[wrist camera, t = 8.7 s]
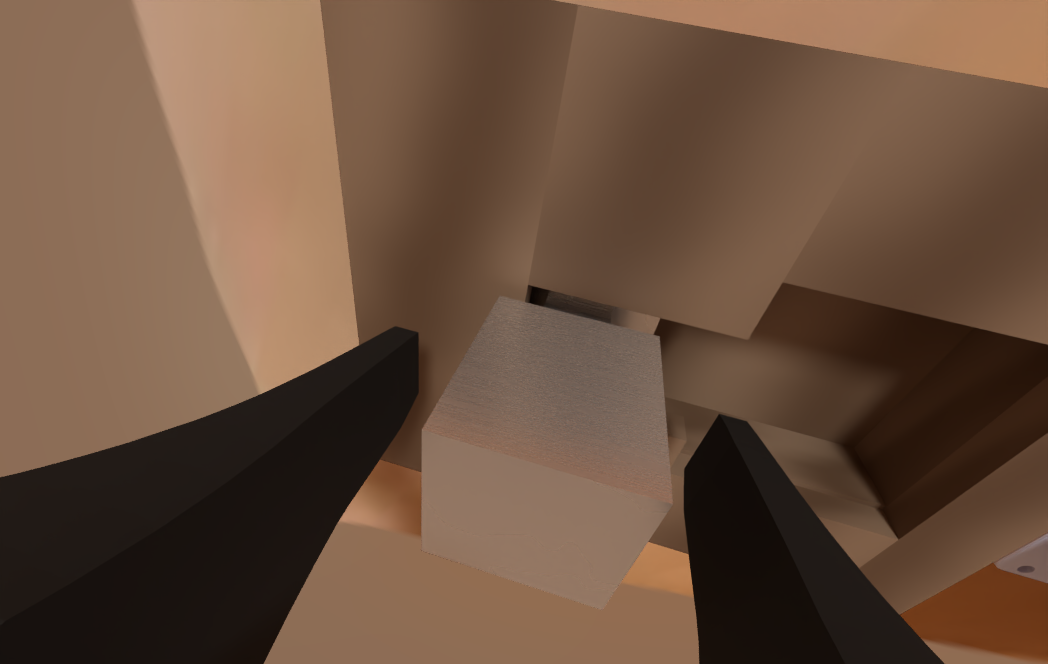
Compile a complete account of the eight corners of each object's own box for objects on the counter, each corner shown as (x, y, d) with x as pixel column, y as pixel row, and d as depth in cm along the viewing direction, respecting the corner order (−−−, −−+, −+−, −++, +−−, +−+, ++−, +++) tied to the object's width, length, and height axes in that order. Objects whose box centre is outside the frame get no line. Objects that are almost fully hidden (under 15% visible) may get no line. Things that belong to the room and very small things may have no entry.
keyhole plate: (1253, 141, 9) (1649, 195, 6) (843, 506, 18) (894, 617, 14) (419, -10, 11) (315, -43, 7) (419, 385, 20) (372, 456, 16)
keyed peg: (675, 257, 12) (721, 494, 6) (627, 376, 15) (619, 626, 9) (519, 221, 13) (391, 399, 6) (501, 342, 16) (400, 554, 9)
